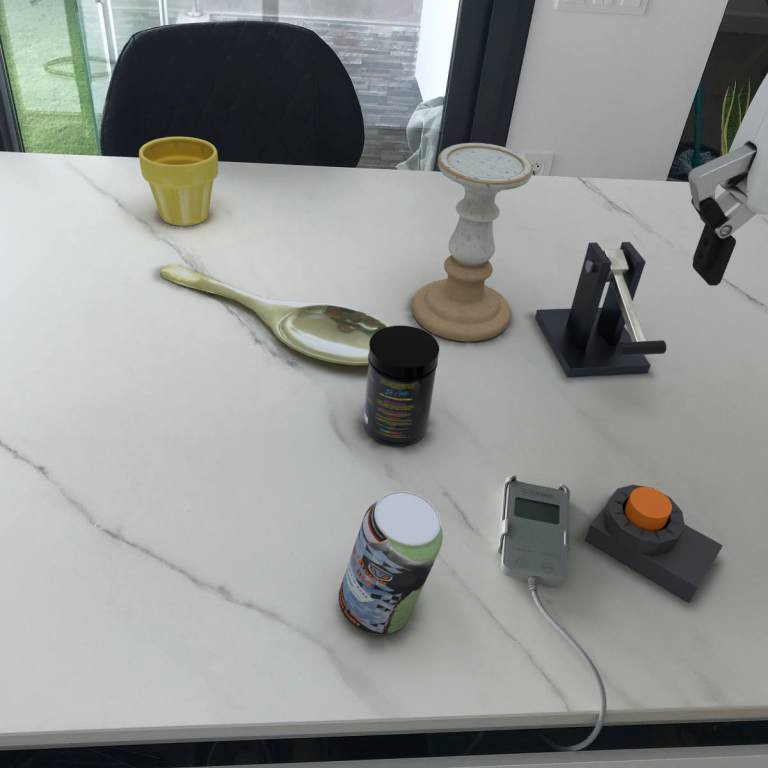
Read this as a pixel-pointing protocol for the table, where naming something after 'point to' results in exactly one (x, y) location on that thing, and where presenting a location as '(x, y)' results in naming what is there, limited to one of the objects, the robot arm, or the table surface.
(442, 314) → the candle holder
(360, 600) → the beverage can
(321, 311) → the spoon
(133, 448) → the table surface
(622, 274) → the t-shaped lever handle
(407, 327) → the supplement container
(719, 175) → the robot arm
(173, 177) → the flower pot
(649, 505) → the power button
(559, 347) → the black lever switch stand
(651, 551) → the button switch box
